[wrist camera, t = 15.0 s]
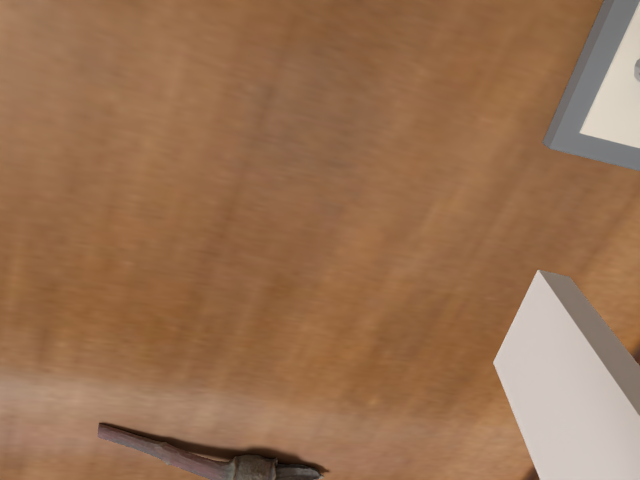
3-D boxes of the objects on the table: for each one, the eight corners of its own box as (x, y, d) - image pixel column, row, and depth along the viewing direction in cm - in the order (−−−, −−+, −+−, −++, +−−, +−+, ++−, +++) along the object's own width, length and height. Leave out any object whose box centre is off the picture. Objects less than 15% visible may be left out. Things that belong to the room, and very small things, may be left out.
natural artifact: (319, 467, 55) (312, 511, 53) (100, 422, 52) (85, 466, 50) (328, 465, 51) (321, 511, 49) (94, 417, 48) (77, 463, 46)
